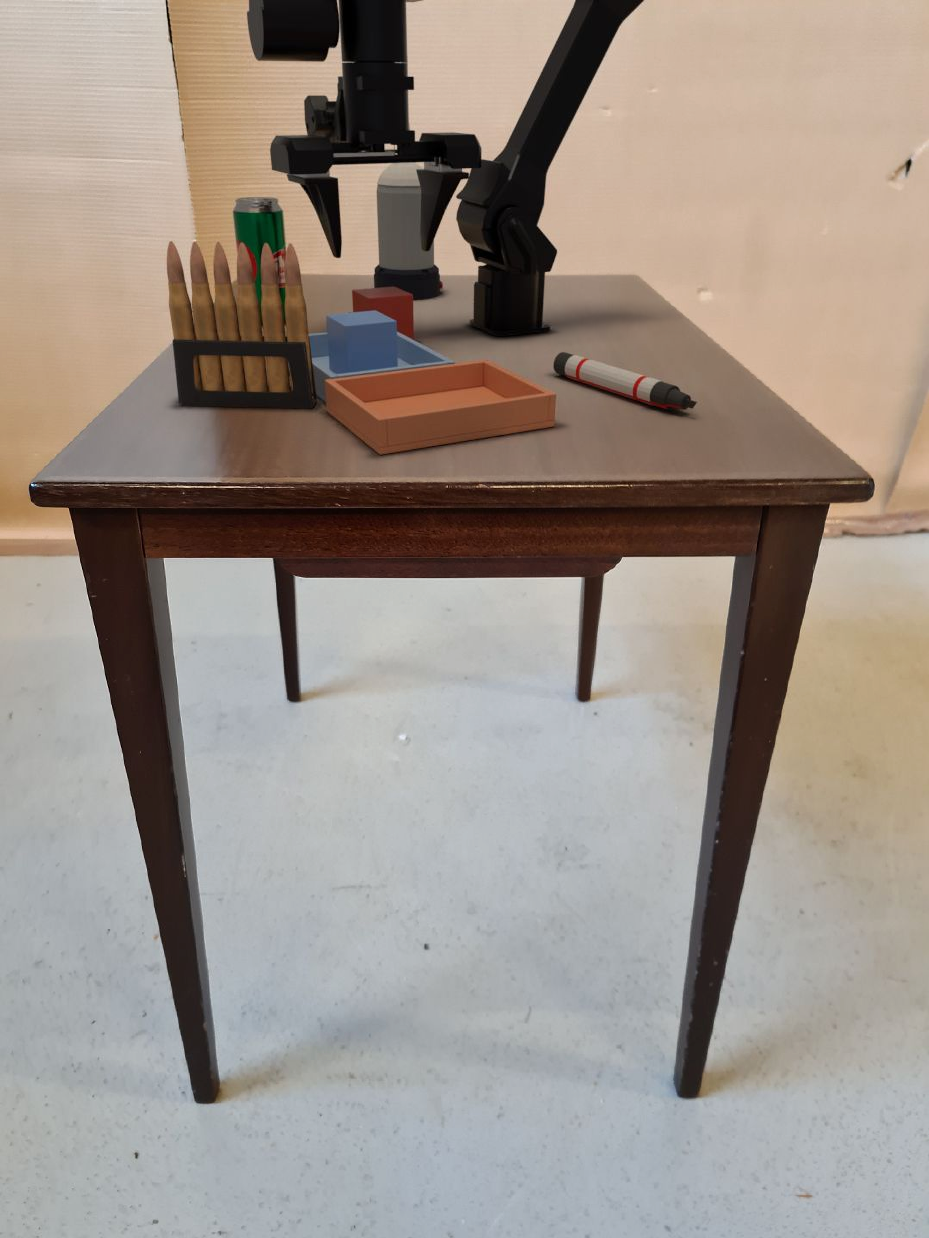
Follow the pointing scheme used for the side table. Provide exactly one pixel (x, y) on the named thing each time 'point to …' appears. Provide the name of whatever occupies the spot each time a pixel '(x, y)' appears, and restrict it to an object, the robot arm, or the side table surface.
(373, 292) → the red block
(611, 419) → the side table surface
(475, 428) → the terracotta tray
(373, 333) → the blue block
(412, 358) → the blue tray
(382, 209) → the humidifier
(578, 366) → the marker
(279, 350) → the ammunition clip
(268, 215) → the soda can
